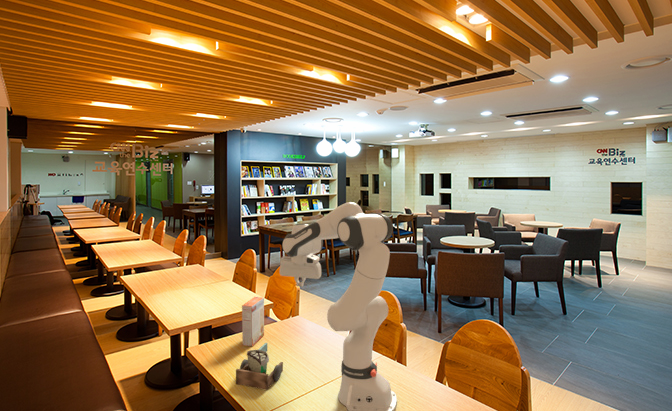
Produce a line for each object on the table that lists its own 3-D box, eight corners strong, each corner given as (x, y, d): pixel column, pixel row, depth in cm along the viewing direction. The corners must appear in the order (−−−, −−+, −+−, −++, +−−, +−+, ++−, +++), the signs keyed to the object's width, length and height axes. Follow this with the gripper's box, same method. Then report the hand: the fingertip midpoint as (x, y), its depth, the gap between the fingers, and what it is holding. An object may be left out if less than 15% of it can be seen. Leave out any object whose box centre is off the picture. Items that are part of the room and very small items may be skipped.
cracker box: (254, 334, 194) (254, 296, 193) (264, 335, 193) (264, 297, 191) (241, 345, 180) (241, 304, 179) (252, 347, 179) (252, 306, 178)
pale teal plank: (265, 350, 175) (265, 342, 175) (267, 351, 175) (267, 343, 175) (251, 364, 162) (251, 356, 162) (253, 365, 162) (253, 356, 161)
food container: (274, 380, 150) (274, 356, 149) (261, 385, 146) (261, 361, 145) (259, 368, 159) (259, 346, 158) (246, 373, 155) (246, 350, 154)
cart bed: (285, 371, 157) (285, 358, 156) (269, 390, 142) (269, 376, 142) (251, 365, 161) (251, 352, 161) (233, 383, 147) (233, 369, 146)
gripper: (277, 257, 170) (277, 285, 171) (318, 260, 164) (318, 290, 165) (282, 254, 176) (282, 282, 177) (322, 257, 170) (322, 286, 171)
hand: (300, 286), depth 171 cm, fingers closed
